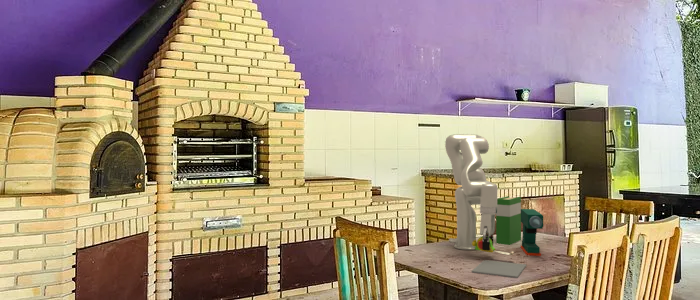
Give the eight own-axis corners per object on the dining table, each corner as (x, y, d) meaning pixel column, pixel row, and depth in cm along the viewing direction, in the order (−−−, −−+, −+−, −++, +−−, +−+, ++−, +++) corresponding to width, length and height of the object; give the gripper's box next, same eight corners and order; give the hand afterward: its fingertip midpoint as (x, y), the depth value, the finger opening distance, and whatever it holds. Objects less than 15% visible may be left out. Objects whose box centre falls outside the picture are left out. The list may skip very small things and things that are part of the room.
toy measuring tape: (474, 246, 225) (474, 233, 225) (515, 253, 214) (515, 239, 213) (469, 249, 220) (469, 235, 220) (511, 257, 209) (511, 242, 208)
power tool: (548, 262, 210) (548, 217, 210) (531, 262, 211) (531, 217, 211) (535, 248, 241) (534, 209, 241) (520, 247, 243) (520, 208, 243)
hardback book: (507, 238, 267) (507, 196, 267) (521, 240, 263) (520, 197, 263) (496, 243, 253) (495, 198, 253) (509, 245, 249) (509, 199, 249)
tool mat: (471, 272, 194) (471, 270, 194) (484, 261, 213) (484, 259, 213) (517, 278, 185) (517, 276, 185) (526, 265, 204) (526, 264, 204)
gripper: (484, 206, 227) (484, 243, 228) (475, 212, 212) (474, 251, 212) (500, 208, 223) (500, 245, 224) (492, 213, 208) (491, 253, 209)
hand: (487, 248), depth 218 cm, fingers closed on toy measuring tape, 6 cm apart
